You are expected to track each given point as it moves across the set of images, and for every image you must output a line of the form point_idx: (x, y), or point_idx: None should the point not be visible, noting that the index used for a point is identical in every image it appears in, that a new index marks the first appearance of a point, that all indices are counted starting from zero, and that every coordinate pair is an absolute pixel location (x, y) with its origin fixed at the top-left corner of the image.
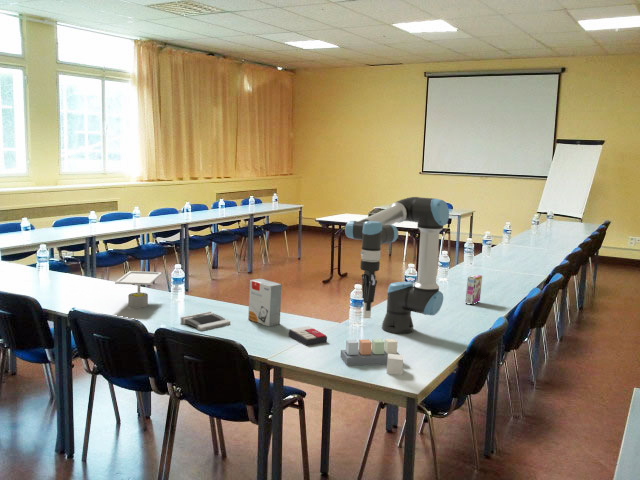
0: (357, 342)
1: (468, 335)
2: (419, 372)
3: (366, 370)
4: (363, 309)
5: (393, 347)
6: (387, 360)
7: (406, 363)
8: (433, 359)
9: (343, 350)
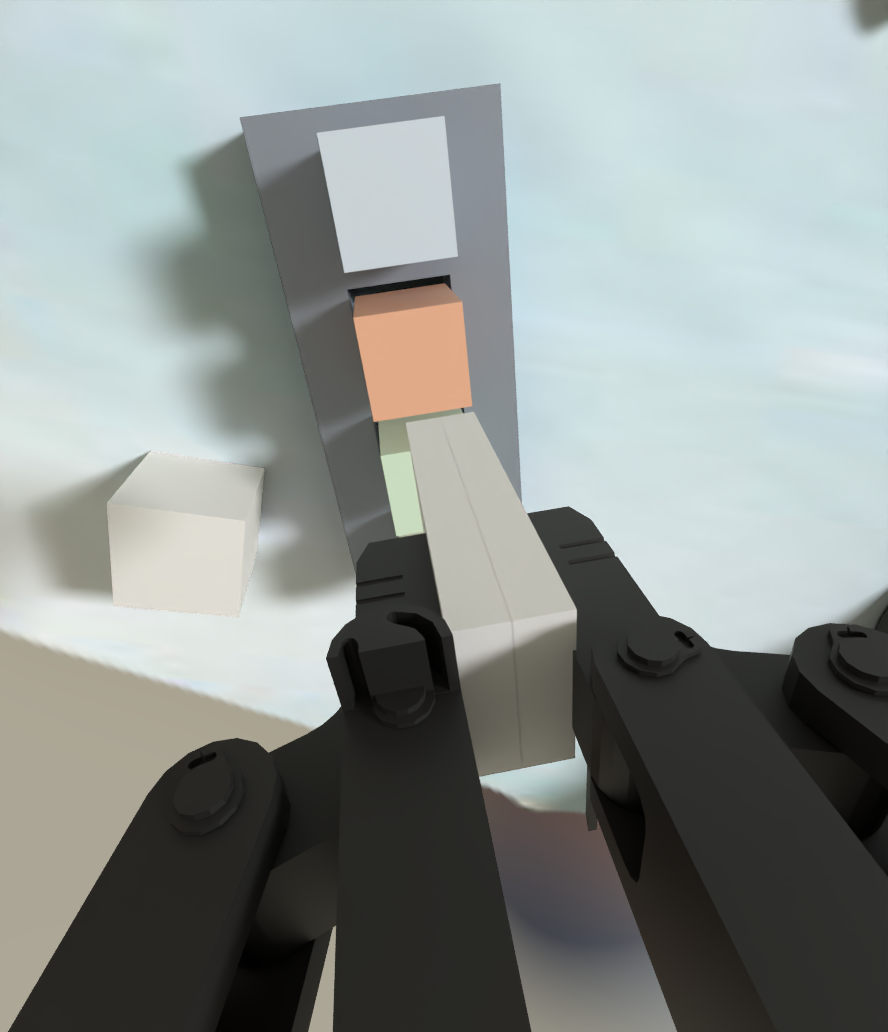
0: (355, 262)
1: None
2: (224, 633)
3: (167, 306)
4: (503, 481)
5: None
6: (114, 495)
7: None
8: None
9: (481, 116)
